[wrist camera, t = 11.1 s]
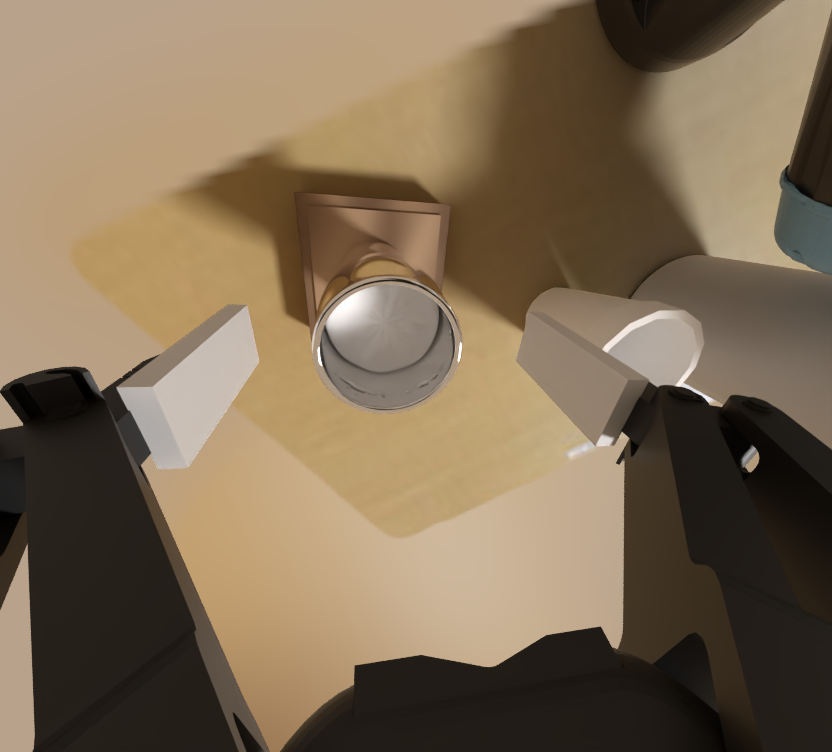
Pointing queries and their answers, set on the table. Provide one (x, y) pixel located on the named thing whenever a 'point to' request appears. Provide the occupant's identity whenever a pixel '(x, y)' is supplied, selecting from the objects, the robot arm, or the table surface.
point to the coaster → (366, 235)
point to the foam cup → (630, 331)
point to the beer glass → (384, 333)
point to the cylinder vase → (756, 332)
